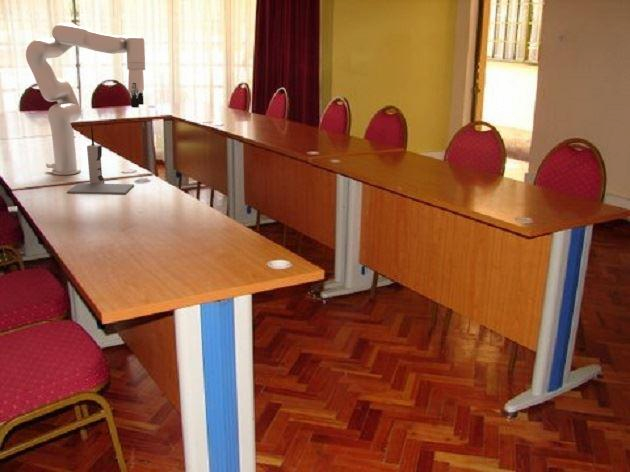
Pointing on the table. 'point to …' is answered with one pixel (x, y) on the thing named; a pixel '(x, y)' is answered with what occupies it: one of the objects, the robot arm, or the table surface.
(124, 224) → the table surface
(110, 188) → the mat
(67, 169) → the robot arm
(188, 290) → the table surface
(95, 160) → the vintage mobile phone
